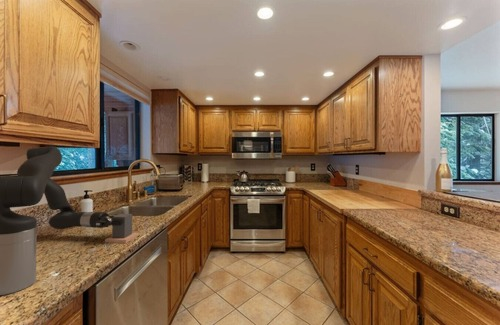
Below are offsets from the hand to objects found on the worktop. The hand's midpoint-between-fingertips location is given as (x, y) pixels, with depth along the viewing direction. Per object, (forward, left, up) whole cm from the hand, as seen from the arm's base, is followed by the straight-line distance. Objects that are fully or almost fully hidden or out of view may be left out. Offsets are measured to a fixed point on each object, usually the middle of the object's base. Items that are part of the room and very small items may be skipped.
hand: (126, 220), depth 104 cm
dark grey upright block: (-1, +2, -8) cm, 8 cm away
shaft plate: (-1, +2, -9) cm, 9 cm away
